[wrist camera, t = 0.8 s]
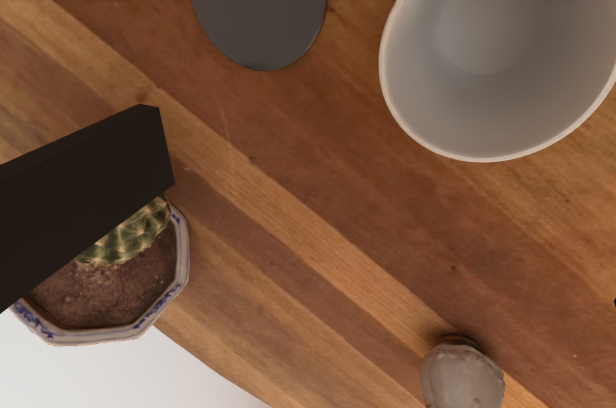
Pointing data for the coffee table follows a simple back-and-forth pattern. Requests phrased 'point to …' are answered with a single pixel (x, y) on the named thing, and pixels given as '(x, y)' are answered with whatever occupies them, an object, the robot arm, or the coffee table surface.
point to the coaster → (261, 29)
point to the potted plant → (113, 282)
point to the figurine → (460, 375)
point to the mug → (496, 72)
